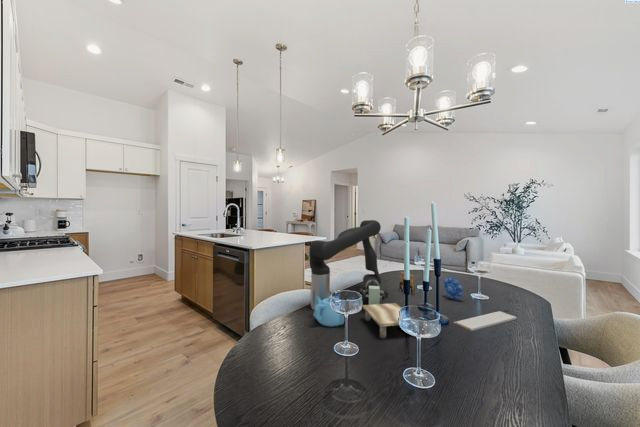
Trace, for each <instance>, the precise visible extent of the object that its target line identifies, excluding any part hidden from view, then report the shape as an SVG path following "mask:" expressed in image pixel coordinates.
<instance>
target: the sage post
mask: <svg viewBox="0 0 640 427" xmlns="http://www.w3.org/2000/svg"><path fill="white" fill-rule="evenodd" d="M380 290H381V286H380V287H379V286H369V297H368V305H374V304H381V298H380Z"/></svg>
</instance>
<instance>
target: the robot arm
mask: <svg viewBox="0 0 640 427" xmlns="http://www.w3.org/2000/svg"><path fill="white" fill-rule="evenodd" d="M381 227H382V226H381V223H380V222H379V221H377V220H375V219H369V220H367V219H365V220H363V221H361V222H360V226H356V227H351V228H348V229H345V230H343V231H341V232H340V233H339V234H338V235H337V238H335V239H333V240H332V239H331V240H329V241H325V240H313V241H312V242H311V244H310V246H309V266H310V267H309V268H310V270H311V271H310V272H311V277H310V278H311V280H310V281H311V286H310V308H311V309H312V310H314V311H315V307H316V305H317V303H316V298H315V297H317V296H318V297H320V299H321V301H322V300H323V299H326V298H329V296H331V290H330V289H331V288H330V286H331V284H330V283H331V281H330V280H331V279H330V278H331V269H330V267H329V265H327V264H326V263H325V261H328V260H330V259H332V258H333V257H335V256H336V255H338V254H339V253H340V252H342V251H345V250H346V249H348V248H351V247H353V246H355V245H357V244H358V243H360V242H361V243H362V245H363V251H364V262H365V263H364V264H365V270H366V271H369V272H373V273H369V274H368V273H366V274H365V275H363V277H362V282H363V285H364V287H365V289H363V288H361V287H360V288H359V291H358V294H359V293H360V294H361V295H362V296H361V297H362V299H364V300H366V299H367V298H369V286H379V287H380V288H381V286H380V285H381V284H382V279H381V276H380V273H379V269H378V258H377V257H378V256H377V254H376V251H375V249H374V248H373V245H372V243H371V241H370V238H371V237H375V236H377V235H378V234H379V233H380V231H381ZM380 299H381V300H382V301H384V300H386V299H389V291H388V290H387V289H384V290H382V289H380Z"/></svg>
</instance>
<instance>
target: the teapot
mask: <svg viewBox="0 0 640 427" xmlns="http://www.w3.org/2000/svg"><path fill="white" fill-rule="evenodd" d="M331 296H332V295H330V296H329V298H326V299H323V300H322V301H321V299H320V297H318V296H317V297H315V298H316V303H317V305H316V307H315V309H314V311H313V317H314V318H315V319H316V320H317V322H318V323H319V324H320V325H322V326H325V327H329V328H331V327H332V328H333V327H334V326H335V327H340V326H342V325H344V324H345V323H344V315H342V314H338V313H336V312H334V311H333V310H332V309H331V306H330V299H331ZM339 325H340V326H339ZM335 327H334V328H335Z"/></svg>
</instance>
